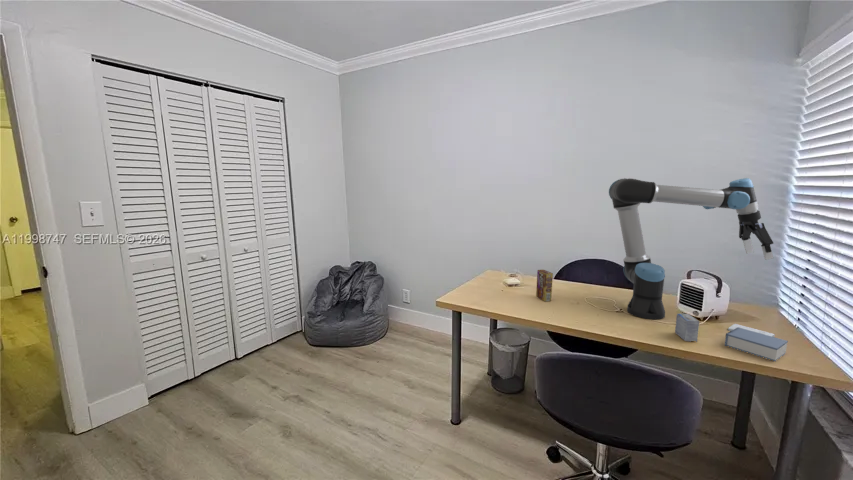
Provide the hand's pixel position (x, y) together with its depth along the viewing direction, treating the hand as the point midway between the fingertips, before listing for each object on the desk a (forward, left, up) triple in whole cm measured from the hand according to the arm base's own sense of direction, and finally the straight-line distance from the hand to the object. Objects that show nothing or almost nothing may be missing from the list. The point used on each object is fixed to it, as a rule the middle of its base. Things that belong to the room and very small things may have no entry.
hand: (759, 255), depth 158 cm
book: (+15, -46, -28) cm, 56 cm away
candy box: (-65, -67, -28) cm, 98 cm away
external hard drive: (+9, -29, -28) cm, 42 cm away
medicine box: (-3, -56, -28) cm, 63 cm away
